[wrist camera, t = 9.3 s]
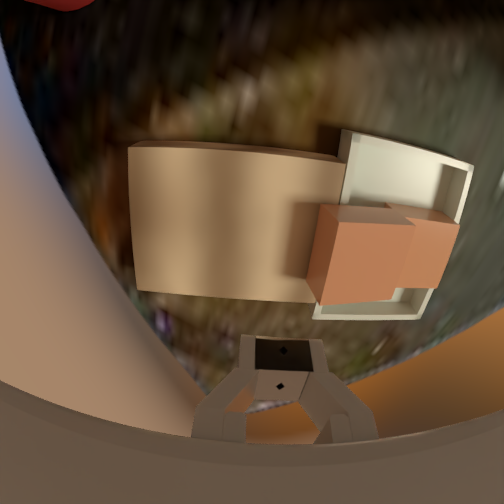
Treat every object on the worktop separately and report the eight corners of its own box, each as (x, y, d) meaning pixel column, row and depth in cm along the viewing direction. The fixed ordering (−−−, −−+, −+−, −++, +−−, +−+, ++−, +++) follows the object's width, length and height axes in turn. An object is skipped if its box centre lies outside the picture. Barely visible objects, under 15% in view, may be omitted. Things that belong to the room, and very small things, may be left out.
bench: (333, 155, 21) (345, 164, 18) (308, 282, 26) (315, 303, 24) (142, 140, 20) (128, 147, 18) (147, 269, 25) (137, 289, 23)
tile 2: (441, 211, 23) (460, 225, 20) (422, 270, 26) (436, 288, 23) (385, 202, 22) (401, 216, 20) (367, 267, 25) (379, 287, 23)
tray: (457, 158, 21) (474, 165, 19) (409, 303, 28) (419, 319, 26) (341, 128, 20) (352, 132, 18) (307, 301, 27) (311, 319, 25)
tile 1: (392, 208, 21) (416, 225, 18) (373, 277, 24) (391, 299, 21) (320, 203, 20) (339, 222, 17) (305, 280, 22) (319, 305, 20)
